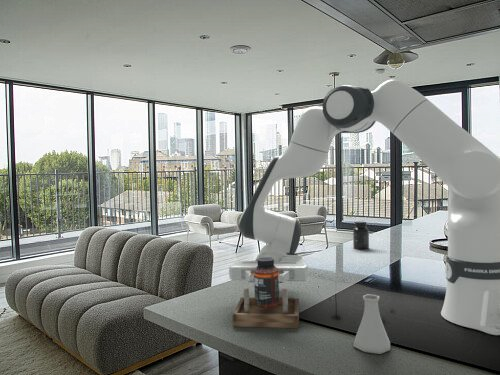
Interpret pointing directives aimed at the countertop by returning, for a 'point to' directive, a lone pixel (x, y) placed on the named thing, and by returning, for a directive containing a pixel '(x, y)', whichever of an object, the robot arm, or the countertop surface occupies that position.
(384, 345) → the flask
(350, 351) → the countertop surface
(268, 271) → the supplement bottle
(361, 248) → the supplement bottle
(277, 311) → the tray
